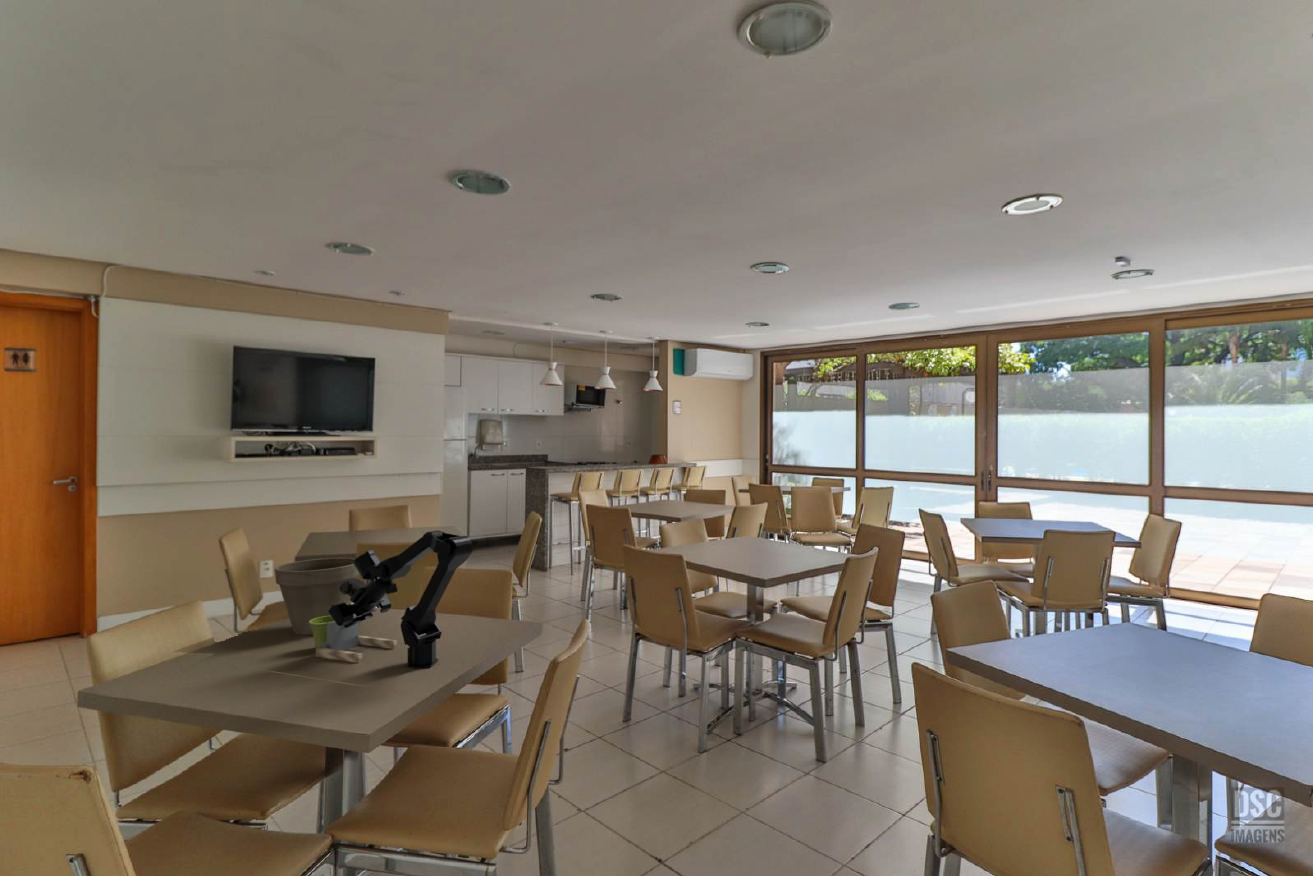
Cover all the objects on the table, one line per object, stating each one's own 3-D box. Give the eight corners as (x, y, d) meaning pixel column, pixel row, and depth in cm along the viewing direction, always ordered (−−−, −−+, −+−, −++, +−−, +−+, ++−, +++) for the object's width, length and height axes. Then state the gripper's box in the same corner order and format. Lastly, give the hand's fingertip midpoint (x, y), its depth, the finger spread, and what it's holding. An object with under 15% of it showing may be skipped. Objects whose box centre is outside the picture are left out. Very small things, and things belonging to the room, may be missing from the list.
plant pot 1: (255, 638, 206) (256, 569, 206) (308, 618, 230) (308, 556, 230) (329, 641, 202) (329, 571, 202) (374, 620, 226) (374, 557, 227)
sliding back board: (358, 645, 197) (358, 615, 197) (330, 655, 187) (330, 623, 188) (348, 644, 198) (348, 614, 198) (320, 653, 189) (321, 622, 189)
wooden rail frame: (397, 648, 194) (397, 640, 194) (358, 663, 181) (358, 654, 181) (355, 643, 200) (355, 635, 200) (315, 657, 187) (315, 648, 187)
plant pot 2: (333, 653, 190) (333, 623, 190) (302, 653, 190) (302, 623, 191) (350, 644, 199) (350, 615, 199) (320, 643, 200) (321, 615, 200)
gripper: (383, 565, 199) (356, 598, 203) (333, 576, 182) (303, 613, 186) (404, 593, 196) (375, 626, 200) (354, 607, 179) (324, 643, 183)
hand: (345, 626), depth 192 cm, fingers closed, pressing on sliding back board
